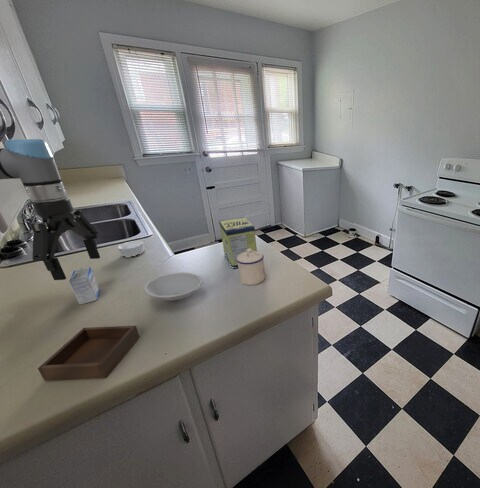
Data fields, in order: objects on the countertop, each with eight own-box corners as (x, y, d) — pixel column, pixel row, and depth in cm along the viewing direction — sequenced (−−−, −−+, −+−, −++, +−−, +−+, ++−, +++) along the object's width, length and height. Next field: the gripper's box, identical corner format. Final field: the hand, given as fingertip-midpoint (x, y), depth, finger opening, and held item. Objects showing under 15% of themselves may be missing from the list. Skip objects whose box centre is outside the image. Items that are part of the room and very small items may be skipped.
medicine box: (97, 300, 84) (88, 276, 81) (79, 305, 82) (68, 280, 79) (99, 289, 90) (90, 266, 87) (82, 293, 88) (72, 270, 85)
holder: (44, 381, 57) (37, 368, 56) (88, 338, 69) (83, 327, 67) (106, 377, 58) (100, 365, 56) (139, 336, 69) (136, 325, 68)
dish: (135, 306, 81) (130, 292, 79) (171, 282, 94) (167, 269, 92) (184, 315, 77) (180, 300, 75) (215, 289, 90) (212, 276, 88)
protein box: (248, 249, 120) (244, 216, 114) (259, 263, 108) (255, 226, 102) (223, 254, 115) (218, 220, 109) (232, 269, 103) (226, 231, 97)
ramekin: (126, 260, 110) (123, 250, 109) (116, 255, 115) (113, 245, 113) (149, 252, 117) (146, 243, 115) (139, 248, 122) (136, 239, 120)
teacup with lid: (270, 279, 96) (268, 249, 92) (248, 288, 90) (244, 257, 86) (252, 268, 104) (249, 240, 99) (230, 276, 98) (226, 247, 93)
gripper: (20, 211, 63) (57, 289, 71) (97, 189, 85) (118, 250, 94) (-14, 212, 62) (27, 290, 70) (72, 190, 85) (95, 251, 93)
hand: (79, 268), depth 82 cm, fingers open, 13 cm apart
